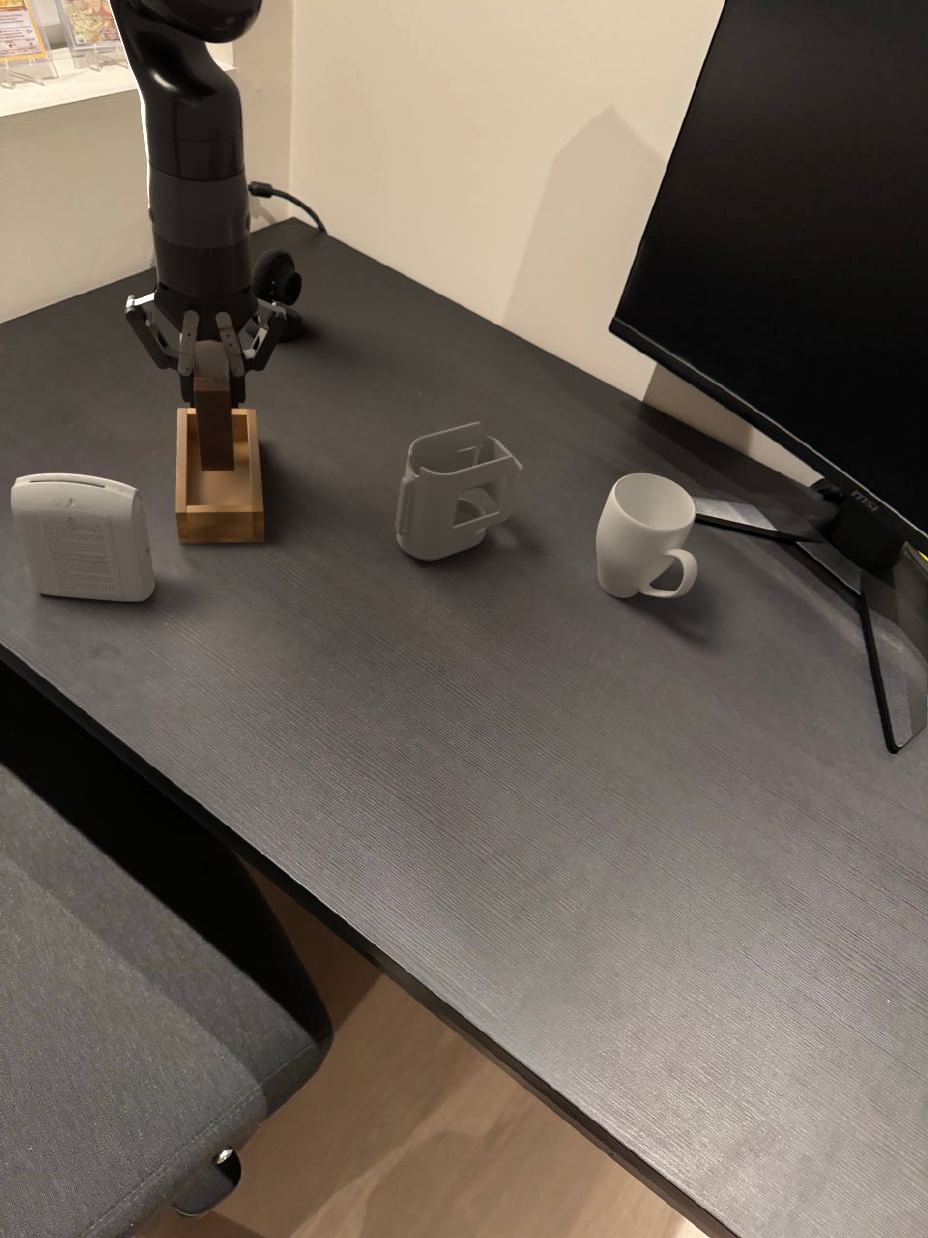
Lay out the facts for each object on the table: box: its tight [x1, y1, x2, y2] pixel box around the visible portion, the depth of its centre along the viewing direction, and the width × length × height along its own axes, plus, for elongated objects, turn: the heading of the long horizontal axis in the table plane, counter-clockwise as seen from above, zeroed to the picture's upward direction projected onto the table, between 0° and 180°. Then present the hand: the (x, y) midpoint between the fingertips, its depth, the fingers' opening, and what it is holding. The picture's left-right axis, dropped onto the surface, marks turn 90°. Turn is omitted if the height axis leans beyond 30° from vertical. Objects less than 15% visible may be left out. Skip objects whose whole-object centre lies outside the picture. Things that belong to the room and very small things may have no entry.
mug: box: [595, 472, 698, 599], centre depth 82 cm, size 12×8×11 cm
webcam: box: [243, 247, 304, 342], centre depth 104 cm, size 8×8×10 cm
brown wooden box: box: [193, 340, 234, 471], centre depth 79 cm, size 3×10×9 cm, turn 12°
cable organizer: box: [394, 420, 524, 562], centre depth 83 cm, size 7×12×12 cm, turn 123°
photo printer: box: [10, 472, 156, 603], centre depth 72 cm, size 10×4×12 cm, turn 92°
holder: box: [174, 407, 265, 545], centre depth 86 cm, size 8×16×4 cm, turn 11°
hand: (214, 402), depth 79 cm, fingers closed on brown wooden box, 3 cm apart
